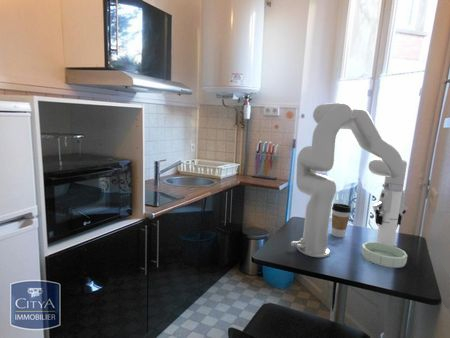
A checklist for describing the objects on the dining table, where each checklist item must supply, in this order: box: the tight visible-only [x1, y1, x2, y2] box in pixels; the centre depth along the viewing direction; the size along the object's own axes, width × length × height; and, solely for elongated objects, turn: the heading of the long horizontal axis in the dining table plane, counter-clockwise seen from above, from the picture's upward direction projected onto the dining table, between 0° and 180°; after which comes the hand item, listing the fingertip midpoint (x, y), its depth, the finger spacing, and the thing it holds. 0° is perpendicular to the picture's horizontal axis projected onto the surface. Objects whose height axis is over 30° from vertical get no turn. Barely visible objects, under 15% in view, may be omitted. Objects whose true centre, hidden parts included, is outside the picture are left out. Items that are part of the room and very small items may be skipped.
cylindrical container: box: [375, 191, 402, 246], centre depth 136 cm, size 7×7×25 cm
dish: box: [361, 241, 408, 269], centre depth 120 cm, size 16×16×4 cm
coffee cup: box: [331, 202, 351, 238], centre depth 144 cm, size 8×8×15 cm
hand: (387, 223), depth 136 cm, fingers open, 9 cm apart
